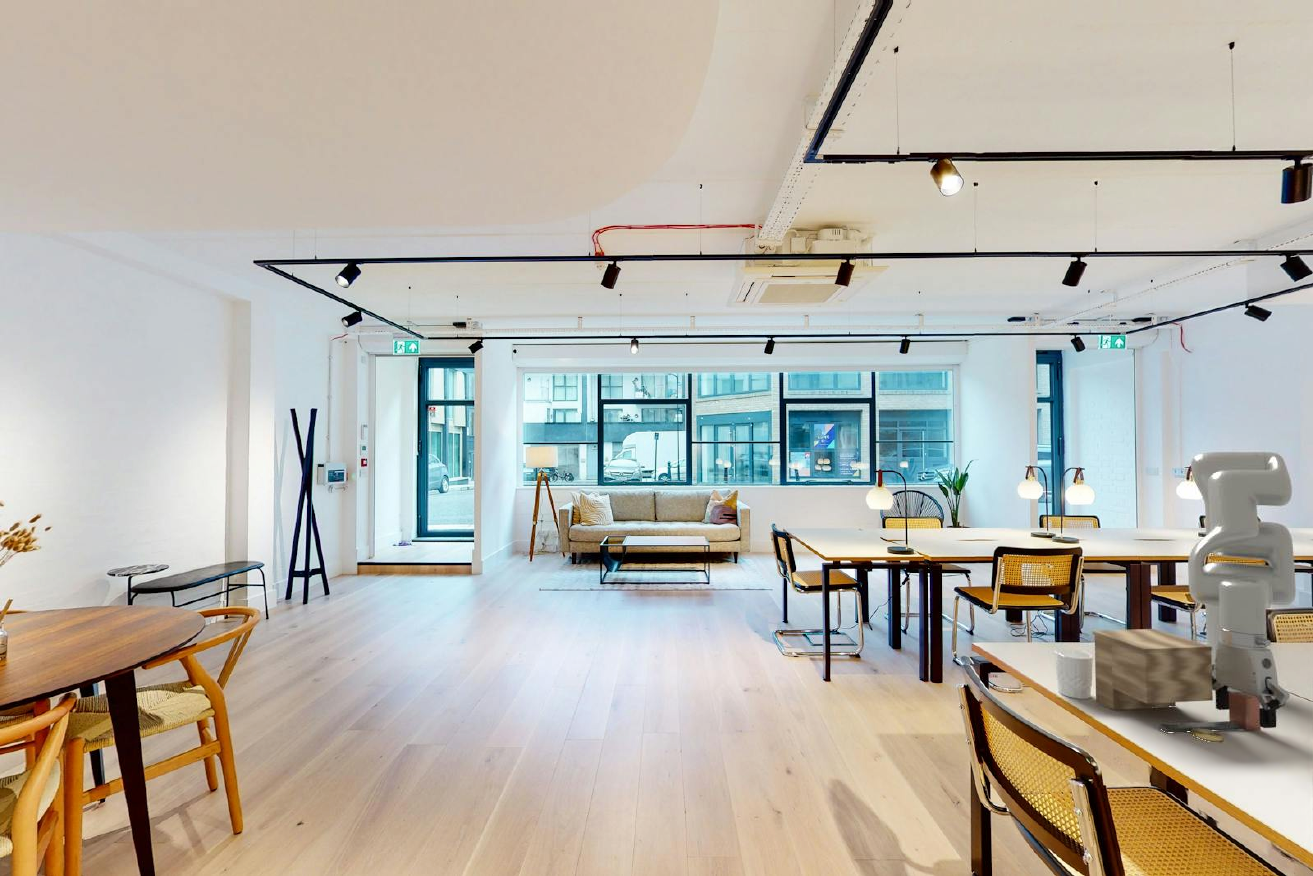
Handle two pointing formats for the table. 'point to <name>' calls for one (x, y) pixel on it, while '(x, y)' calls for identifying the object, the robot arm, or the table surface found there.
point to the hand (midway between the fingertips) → (1245, 718)
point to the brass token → (1207, 735)
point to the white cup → (1074, 673)
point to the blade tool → (1240, 716)
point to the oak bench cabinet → (1150, 669)
